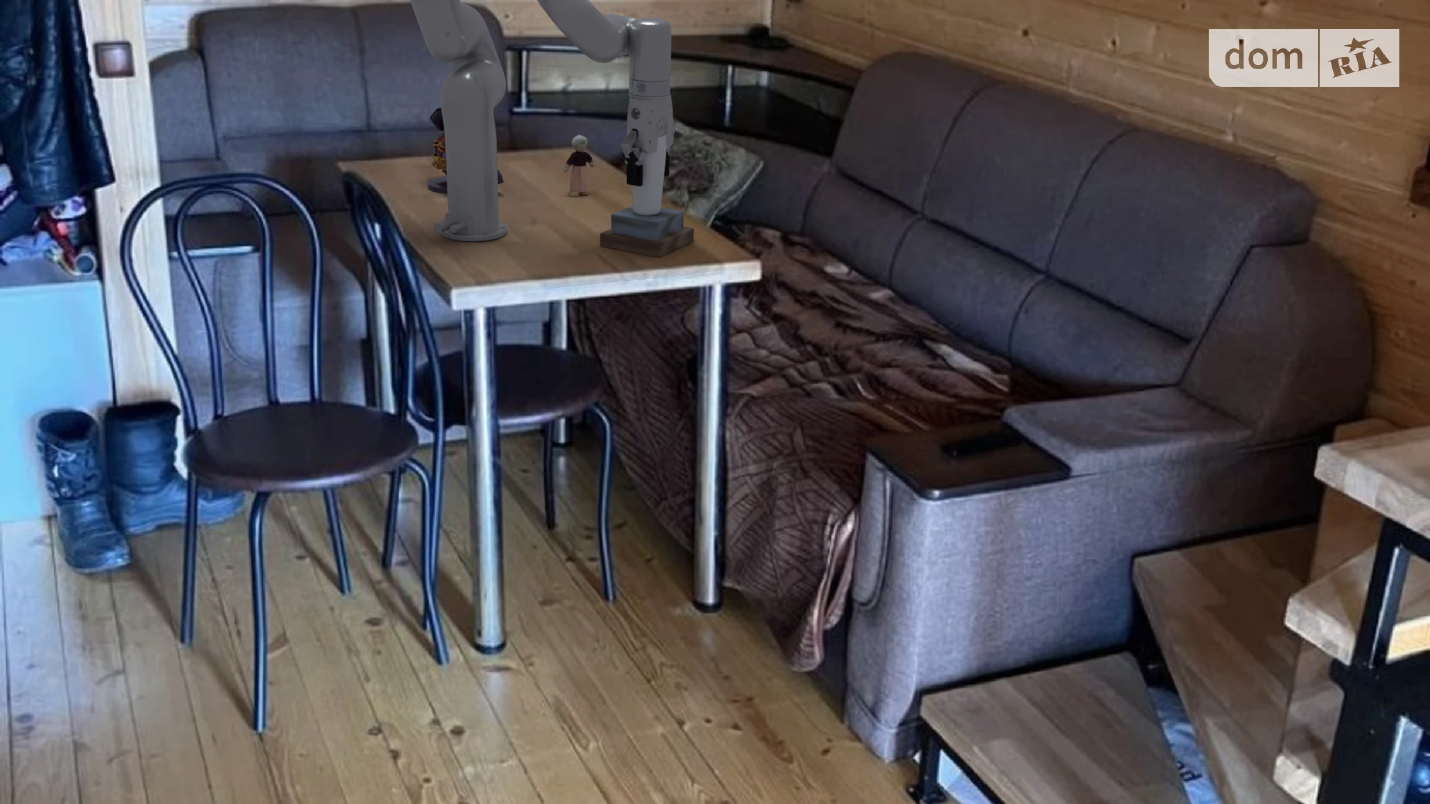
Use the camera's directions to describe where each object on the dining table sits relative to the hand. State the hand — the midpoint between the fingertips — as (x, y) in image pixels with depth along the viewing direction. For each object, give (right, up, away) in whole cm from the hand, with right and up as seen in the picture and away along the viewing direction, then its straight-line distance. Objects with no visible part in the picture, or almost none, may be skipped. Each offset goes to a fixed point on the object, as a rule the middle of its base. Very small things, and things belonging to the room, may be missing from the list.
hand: (648, 180), depth 269 cm
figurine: (-42, +4, +40) cm, 58 cm away
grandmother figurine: (-16, +3, +38) cm, 41 cm away
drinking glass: (0, -6, +3) cm, 7 cm away
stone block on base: (0, -11, +5) cm, 12 cm away
